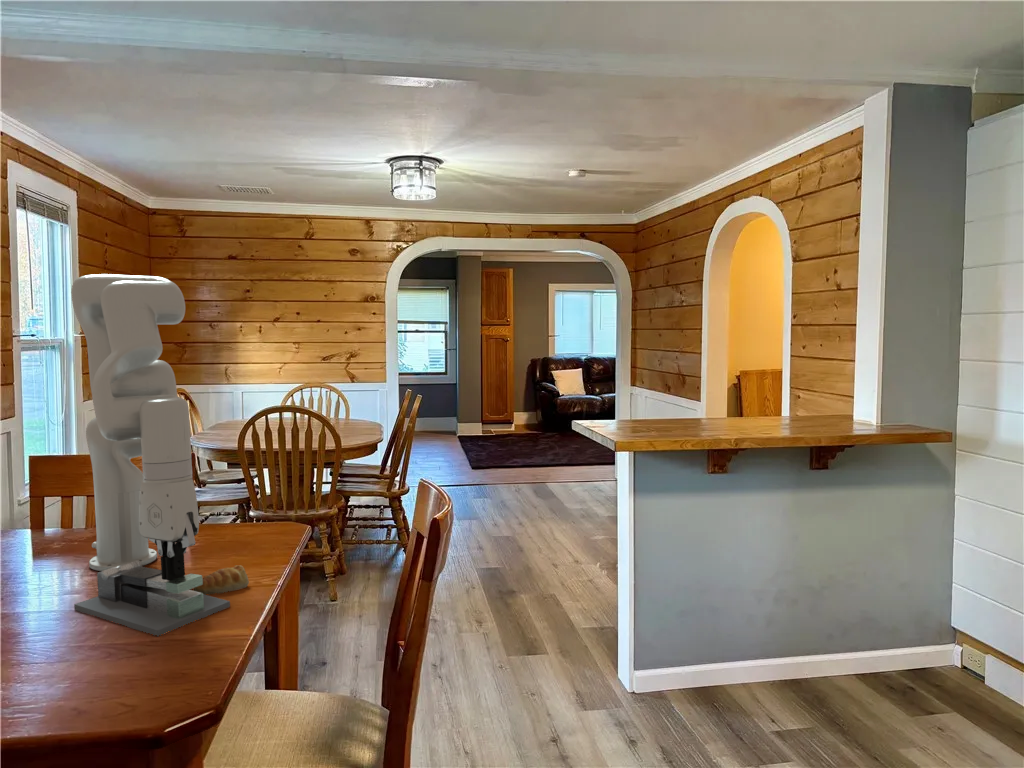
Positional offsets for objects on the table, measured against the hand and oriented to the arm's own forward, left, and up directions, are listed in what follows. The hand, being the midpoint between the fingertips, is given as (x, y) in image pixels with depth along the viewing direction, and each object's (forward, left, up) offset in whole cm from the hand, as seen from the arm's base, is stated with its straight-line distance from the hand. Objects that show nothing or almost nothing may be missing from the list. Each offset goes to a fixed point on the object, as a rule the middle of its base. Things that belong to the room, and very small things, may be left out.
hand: (173, 577), depth 123 cm
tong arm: (-4, 0, -2) cm, 5 cm away
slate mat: (-7, 0, -7) cm, 10 cm away
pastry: (-4, +13, -7) cm, 16 cm away
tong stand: (-7, 0, -6) cm, 9 cm away
